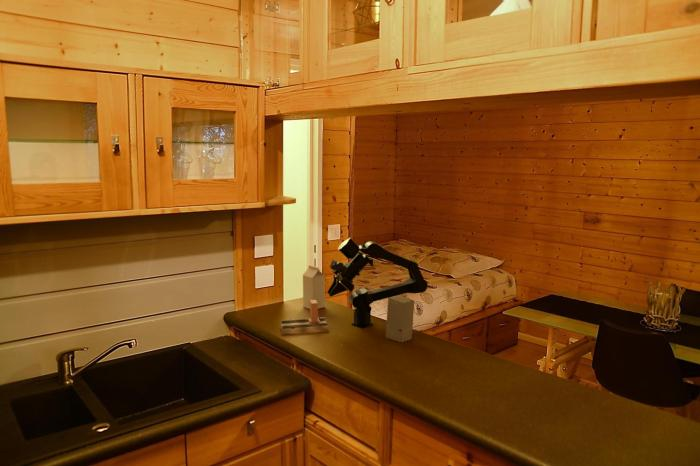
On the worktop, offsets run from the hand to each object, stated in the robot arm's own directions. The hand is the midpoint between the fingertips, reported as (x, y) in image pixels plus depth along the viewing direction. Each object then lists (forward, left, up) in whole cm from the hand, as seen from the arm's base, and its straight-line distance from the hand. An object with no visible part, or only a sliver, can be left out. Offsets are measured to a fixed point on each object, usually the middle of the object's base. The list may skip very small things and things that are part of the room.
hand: (328, 294), depth 216 cm
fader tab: (+3, +5, -11) cm, 13 cm away
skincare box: (-29, -9, -14) cm, 33 cm away
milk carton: (+24, -14, -14) cm, 31 cm away
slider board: (+6, +8, -14) cm, 17 cm away
